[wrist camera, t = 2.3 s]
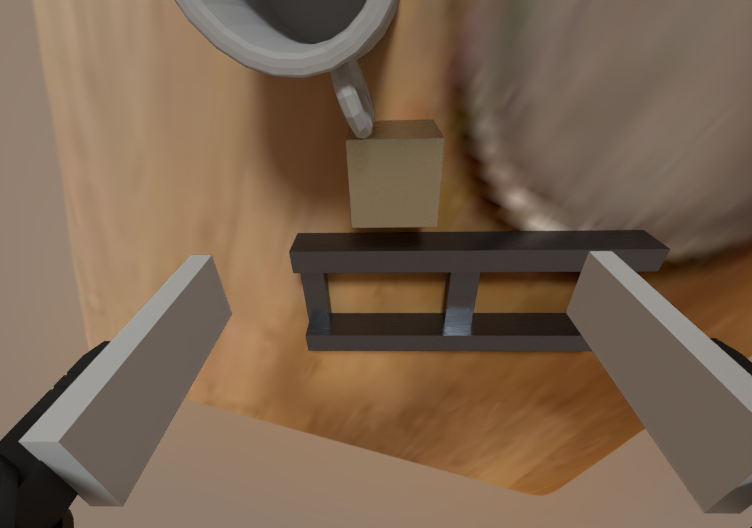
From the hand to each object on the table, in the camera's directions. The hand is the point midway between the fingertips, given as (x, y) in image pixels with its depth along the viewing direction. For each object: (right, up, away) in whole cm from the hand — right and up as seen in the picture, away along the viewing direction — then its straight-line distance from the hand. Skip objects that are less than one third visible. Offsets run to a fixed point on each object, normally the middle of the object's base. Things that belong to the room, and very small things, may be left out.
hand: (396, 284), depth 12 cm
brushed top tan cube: (0, +8, +12) cm, 15 cm away
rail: (+7, -1, +19) cm, 20 cm away
